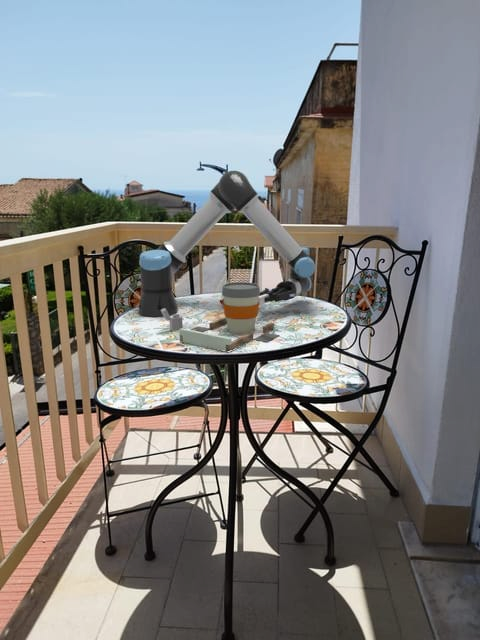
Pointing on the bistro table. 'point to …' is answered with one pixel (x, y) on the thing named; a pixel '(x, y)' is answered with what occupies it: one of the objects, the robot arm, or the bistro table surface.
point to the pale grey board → (205, 339)
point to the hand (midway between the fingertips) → (258, 301)
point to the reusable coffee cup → (241, 306)
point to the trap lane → (242, 340)
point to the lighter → (173, 320)
